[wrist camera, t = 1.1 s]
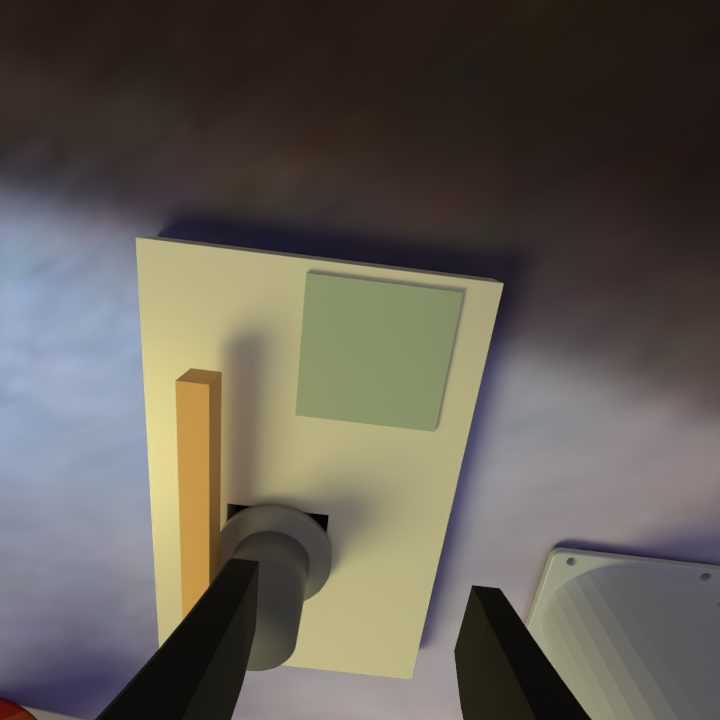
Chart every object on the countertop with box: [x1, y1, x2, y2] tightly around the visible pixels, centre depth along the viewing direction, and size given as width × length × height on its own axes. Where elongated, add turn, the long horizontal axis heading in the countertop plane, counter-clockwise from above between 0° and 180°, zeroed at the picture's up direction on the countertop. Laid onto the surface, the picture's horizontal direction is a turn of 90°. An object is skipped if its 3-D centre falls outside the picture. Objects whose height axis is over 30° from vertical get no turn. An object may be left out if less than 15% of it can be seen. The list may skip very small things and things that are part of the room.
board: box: [136, 236, 504, 679], centre depth 19 cm, size 14×22×2 cm, turn 173°
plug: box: [220, 504, 332, 671], centre depth 18 cm, size 6×6×6 cm
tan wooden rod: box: [175, 368, 222, 620], centre depth 18 cm, size 2×16×1 cm, turn 173°
